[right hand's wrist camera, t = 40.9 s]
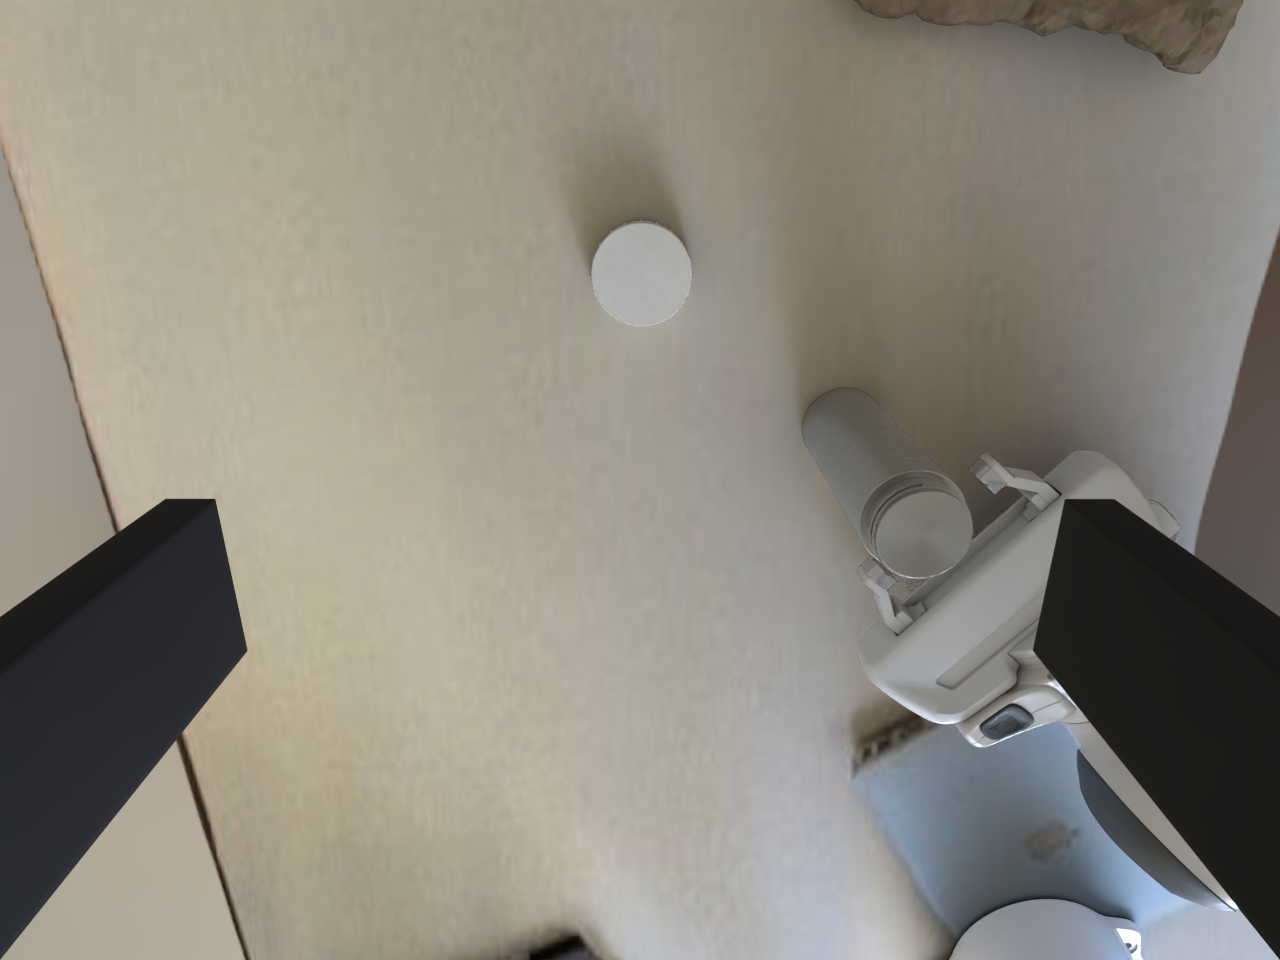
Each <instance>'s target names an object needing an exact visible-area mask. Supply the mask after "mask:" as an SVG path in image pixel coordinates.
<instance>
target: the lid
mask: <svg viewBox="0 0 1280 960" xmlns="http://www.w3.org/2000/svg"><path fill="white" fill-rule="evenodd" d="M683 244H684V243H683V241H682V240H681V241H680V239H679V238H678V237H677V236H676V235H675V234H674V233H673V232H672V229H668V228H666V227H665V226H663V225H661V224H658V222H657V221H656V223H655V222H652V221H642V219H640V221H632V222H628V223H626V222H624V224H623V225H620V226H619V227H617V228H615V229H614V230H610V233H609V234H608V235H607V236H606V237H605V238H604V239H603V241H602V242H601V241H600V243H599V245H600V246H599V247H598V249H597V251H596V254H595V256H593V258H592V260H593V263H592V270H591V274H590V276H591V280H592V286H593V289H594V290H593V292H594V293H595V295H596V297H597V299H598V301H599V303H600V304H601V306H602V307H603V308H604V309H605V310H606V311H607V312H608V313H609V314H610V315H611V316H612V317H614V318H616V319H617V320H619V321H621V322H624V323H626V324H630V325H635V326H648V325H653V324H657V323H660V322H662V321H664V320H666V319H668V318H669V317H671V316H672V315H673V314H675V313H676V312H677V311H678V310H679V308H680V307H681V306H682V305H683V303H684V301H685V300H686V298H687V296H688V293H689V291H690V287H691V282H692V275H693V272H692V267H691V262H690V259H691V257H690V255H689V254H688V253H687V251H686V249H685V247H684V245H683Z"/></svg>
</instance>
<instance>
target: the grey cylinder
mask: <svg viewBox="0 0 1280 960" xmlns="http://www.w3.org/2000/svg"><path fill="white" fill-rule="evenodd" d="M802 435H803V440H804V442H805V445H806V447H807V449H808V450H809V452H810V454H811V455H812V457H813V459H814V461H815V462H816V464H817V466H818V467H819V469H820V471H821V473H822V474H823V476H824V478H825V480H826V481H827V483H828V485H829V486H830V488H831V490H832V492H833V493H834V495H835V497H836V499H837V500H838V502H839V504H840V505H841V507H842V509H843V511H844V512H845V514H846V516H847V518H848V519H849V521H850V523H851V524H852V526H853V528H854V530H855V531H856V533H857V535H858V536H859V538H860V540H861V542H862V543H863V545H864V547H865V548H866V550H867V551H868V552H869V553H870V554H871V555H872V556H873V557H874V558H876V559H877V560H878V561H880V562H881V563H882V564H883V565H884V567H885V568H886V569H888V570H889V571H891V572H893V573H894V574H896V575H898V576H901V577H905V578H908V579H926V578H931V577H935V576H936V575H938V574H941V573H943V572H945V571H947V570H949V569H950V568H952V567H953V566H954V565H955V564H957V563H958V562H959V561H960V560H961V559H962V557H963V556H964V555H965V553H966V552H967V550H968V548H969V546H970V544H971V540H972V536H973V522H972V516H971V513H970V511H969V508H968V506H967V505H966V501H965V498H964V495H963V493H962V491H961V490H960V489H959V487H958V486H957V485H956V484H955V483H954V482H953V481H952V480H951V479H950V478H949V477H948V476H947V475H946V473H945V472H944V471H943V470H942V469H941V468H940V467H939V466H938V465H937V464H936V463H935V462H934V461H933V460H932V459H931V458H930V457H929V456H928V455H927V454H926V453H925V452H924V451H923V450H922V449H921V448H920V447H919V446H918V445H917V444H916V443H915V442H914V441H913V440H912V439H911V438H910V436H909V435H908V434H907V433H906V432H905V431H904V430H903V429H902V428H901V427H900V426H899V425H898V424H897V423H896V422H895V421H894V420H893V419H892V418H891V417H890V416H889V415H888V414H887V413H886V412H885V411H884V410H883V409H882V408H881V407H880V406H879V405H878V404H877V403H876V402H875V401H874V399H873V398H872V397H870V396H869V395H868V394H866V393H864V392H862V391H860V390H856V389H851V388H842V389H836V390H832V391H830V392H827V393H825V394H824V395H822V396H821V397H819V398H818V399H817V400H816V401H815V402H814V403H813V404H812V405H811V406H810V408H809V409H808V411H807V413H806V415H805V417H804V420H803V425H802Z"/></svg>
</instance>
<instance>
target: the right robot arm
mask: <svg viewBox="0 0 1280 960" xmlns="http://www.w3.org/2000/svg"><path fill="white" fill-rule="evenodd" d="M246 652H247V646H246V641H245V637H244V632H243V627H242V623H241V618H240V613H239V609H238V604H237V599H236V594H235V590H234V585H233V580H232V576H231V571H230V566H229V562H228V557H227V552H226V547H225V543H224V538H223V533H222V529H221V524H220V519H219V515H218V510H217V505H216V500H215V499H165V500H163V501H162V502H161V503H159V504H158V505H156V506H155V507H154V508H152V509H151V510H149V511H148V512H147V513H145V514H144V515H142V516H141V517H140V518H138V519H137V520H135V521H134V522H133V523H131V524H130V525H128V526H127V527H126V528H124V529H123V530H121V531H120V532H119V533H117V534H116V535H114V536H113V537H112V538H110V539H109V540H107V541H106V542H105V543H103V544H102V545H100V546H99V547H98V548H96V549H95V550H93V551H92V552H91V553H89V554H88V555H86V556H85V557H84V558H82V559H81V560H79V561H78V562H77V563H75V564H74V565H72V566H71V567H70V568H68V569H67V570H65V571H64V572H63V573H61V574H60V575H58V576H57V577H56V578H54V579H53V580H51V581H50V582H49V583H47V584H46V585H44V586H43V587H42V588H40V589H39V590H37V591H36V592H35V593H33V594H32V595H30V596H29V597H28V598H26V599H25V600H23V601H22V602H21V603H19V604H18V605H16V606H15V607H14V608H12V609H11V610H9V611H8V612H7V613H5V614H4V615H2V616H1V617H0V959H1V958H2V957H3V956H4V954H5V953H6V952H7V951H8V949H9V948H10V947H11V946H12V944H13V943H14V942H15V940H16V939H17V938H18V937H19V936H20V934H21V933H22V932H23V931H24V929H25V928H26V927H27V926H28V924H29V923H30V922H31V921H32V919H33V918H34V917H35V916H36V914H37V913H38V912H39V911H40V909H41V908H42V907H43V906H44V904H45V903H46V902H47V901H48V899H49V898H50V897H51V896H52V894H53V893H54V892H55V891H56V889H57V888H58V887H59V885H60V884H61V883H62V882H63V881H64V879H65V878H66V877H67V876H68V874H69V873H70V872H71V871H72V869H73V868H74V867H75V866H76V864H77V863H78V862H79V860H80V859H81V858H82V857H83V856H84V854H85V853H86V852H87V851H88V849H89V848H90V847H91V845H92V844H93V843H94V842H95V841H96V839H97V838H98V837H99V836H100V834H101V833H102V832H103V831H104V829H105V828H106V827H107V826H108V824H109V823H110V822H111V821H112V819H113V818H114V817H115V816H116V814H117V813H118V812H119V811H120V809H121V808H122V807H123V806H124V804H125V803H126V802H127V801H128V799H129V798H130V797H131V796H132V794H133V793H134V792H135V791H136V789H137V788H138V787H139V786H140V784H141V783H142V782H143V781H144V779H145V778H146V777H147V776H148V774H149V773H150V772H151V771H152V769H153V768H154V767H155V766H156V764H157V763H158V762H159V761H160V759H161V758H162V757H163V756H164V754H165V753H166V752H167V751H168V749H169V748H170V747H171V746H172V744H173V743H174V742H175V741H176V739H177V738H178V737H179V736H180V734H181V733H182V732H183V731H184V729H185V728H186V727H187V726H188V724H189V723H190V722H191V721H192V719H193V718H194V717H195V716H196V714H197V713H198V712H199V711H200V709H201V708H202V707H203V706H204V704H205V703H206V702H207V701H208V699H209V698H210V697H211V696H212V694H213V693H214V692H215V691H216V689H217V688H218V687H219V686H220V684H221V683H222V682H223V681H224V679H225V678H226V677H227V676H228V674H229V673H230V672H231V671H232V669H233V668H234V667H235V666H236V664H237V663H238V662H239V661H240V659H241V658H242V657H243V656H244V654H245V653H246ZM1033 652H1034V653H1035V654H1036V656H1037V657H1038V658H1039V659H1040V661H1041V662H1042V663H1043V664H1044V666H1045V667H1046V668H1047V669H1048V671H1049V672H1050V673H1051V674H1052V676H1053V677H1054V678H1055V679H1056V681H1057V682H1058V683H1059V684H1060V686H1061V687H1062V688H1063V689H1064V691H1065V692H1066V693H1067V694H1068V696H1069V697H1070V698H1071V699H1072V701H1073V702H1074V703H1075V704H1076V706H1077V707H1078V708H1079V709H1080V711H1081V712H1082V713H1083V714H1084V716H1085V717H1086V718H1087V719H1088V721H1089V722H1090V723H1091V724H1092V726H1093V727H1094V728H1095V729H1096V731H1097V732H1098V733H1099V734H1100V736H1101V737H1102V738H1103V739H1104V741H1105V742H1106V743H1107V744H1108V746H1109V747H1110V748H1111V749H1112V751H1113V752H1114V753H1115V754H1116V756H1117V757H1118V758H1119V759H1120V761H1121V762H1122V763H1123V764H1124V766H1125V767H1126V768H1127V769H1128V771H1129V772H1130V773H1131V774H1132V776H1133V777H1134V778H1135V779H1136V781H1137V782H1138V783H1139V784H1140V786H1141V787H1142V788H1143V789H1144V791H1145V792H1146V793H1147V794H1148V796H1149V797H1150V798H1151V799H1152V801H1153V802H1154V803H1155V804H1156V806H1157V807H1158V808H1159V809H1160V811H1161V812H1162V813H1163V814H1164V816H1165V817H1166V818H1167V819H1168V821H1169V822H1170V823H1171V824H1172V826H1173V827H1174V828H1175V829H1176V831H1177V832H1178V833H1179V834H1180V836H1181V837H1182V838H1183V839H1184V841H1185V842H1186V843H1187V844H1188V846H1189V847H1190V848H1191V849H1192V851H1193V852H1194V853H1195V854H1196V856H1197V857H1198V858H1199V859H1200V861H1201V862H1202V863H1203V864H1204V866H1205V867H1206V868H1207V869H1208V871H1209V872H1210V873H1211V874H1212V876H1213V877H1214V878H1215V879H1216V881H1217V882H1218V883H1219V884H1220V886H1221V887H1222V888H1223V889H1224V891H1225V892H1226V893H1227V894H1228V896H1229V897H1230V898H1231V899H1232V901H1233V902H1234V903H1235V904H1236V906H1237V907H1238V908H1239V909H1240V911H1241V912H1242V913H1243V914H1244V916H1245V917H1246V918H1247V919H1248V921H1249V922H1250V923H1251V924H1252V926H1253V927H1254V928H1255V929H1256V931H1257V932H1258V933H1259V934H1260V936H1261V937H1262V938H1263V939H1264V941H1265V942H1266V943H1267V944H1268V946H1269V947H1270V948H1271V949H1272V951H1273V952H1274V953H1275V954H1276V956H1277V957H1278V958H1279V959H1280V617H1279V616H1278V615H1276V614H1275V613H1273V612H1272V611H1271V610H1269V609H1268V608H1266V607H1265V606H1264V605H1262V604H1261V603H1259V602H1258V601H1257V600H1255V599H1254V598H1252V597H1251V596H1250V595H1248V594H1247V593H1245V592H1244V591H1243V590H1241V589H1240V588H1238V587H1237V586H1236V585H1234V584H1233V583H1231V582H1230V581H1229V580H1227V579H1226V578H1224V577H1223V576H1222V575H1220V574H1219V573H1217V572H1216V571H1215V570H1213V569H1212V568H1210V567H1209V566H1208V565H1206V564H1205V563H1203V562H1202V561H1201V560H1199V559H1198V558H1196V557H1195V556H1194V555H1192V554H1191V553H1189V552H1188V551H1187V550H1185V549H1184V548H1182V547H1181V546H1180V545H1178V544H1177V543H1175V542H1174V541H1173V540H1171V539H1170V538H1168V537H1167V536H1166V535H1164V534H1163V533H1161V532H1160V531H1159V530H1157V529H1156V528H1154V527H1153V526H1152V525H1150V524H1149V523H1147V522H1146V521H1145V520H1143V519H1142V518H1140V517H1139V516H1138V515H1136V514H1135V513H1133V512H1132V511H1131V510H1129V509H1128V508H1126V507H1125V506H1124V505H1122V504H1121V503H1119V502H1118V501H1117V500H1115V499H1065V500H1064V505H1063V510H1062V515H1061V519H1060V524H1059V529H1058V533H1057V538H1056V543H1055V547H1054V552H1053V557H1052V562H1051V566H1050V571H1049V576H1048V580H1047V585H1046V590H1045V594H1044V599H1043V604H1042V609H1041V613H1040V618H1039V623H1038V627H1037V632H1036V637H1035V641H1034V646H1033Z"/></svg>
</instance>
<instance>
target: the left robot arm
mask: <svg viewBox="0 0 1280 960" xmlns="http://www.w3.org/2000/svg"><path fill="white" fill-rule="evenodd" d="M980 458H981V459H980ZM980 458H978V459H977V460H976V461H975V462H974V463H973V464H972V465H971V466H969V467H968V469H969V470H970V471H971V472H972V473H973V474H974V475H975V476H976V477H977V478H978V479H979V480H980V481H981V482H983V483H984V484H985V485H986V486H987V487H988V488H989V489H990V490H991V491H992V492H993V493H994V494H996V493H997V492H999V491H1000V490H1001V489H1002V488H1003V487H1005V486H1009V487H1014V488H1017V489H1018V490H1019V491H1020V492H1021V493H1022V494H1023V496H1022V497H1021V498H1020V499H1018V500H1017V501H1016V502H1015V503H1014V504H1013V505H1012V506H1010V507H1009V508H1008V509H1007V510H1006V511H1005V512H1004V513H1002V514H1001V515H1000V516H999V517H998V518H997V519H996V520H994V521H993V522H992V523H991V524H990V525H989V526H988V527H986V528H985V529H984V530H983V531H982V532H981V533H980V534H978V535H977V536H976V537H975V538H974V539H973V540H972V541H971V544H970V546H969V548H968V550H967V552H966V553H965V555H964V556H963V557H962V559H961V560H960V561H959V562H958V563H957V564H955V565H954V566H953V567H952V568H950V569H949V570H947V571H945V572H943V573H941V574H938V575H936V576H935V577H931V578H928V579H927V580H926V581H925V582H923V583H922V584H921V585H920V586H919V587H918V588H917V589H915V590H914V591H913V592H912V593H911V594H910V595H909V596H907V597H906V598H905V599H904V600H903V601H902V602H901V601H900V600H899V599H897V598H896V597H895V596H894V595H892V596H890V597H889V593H888V589H889V588H890V587H891V586H892V585H893V584H895V583H896V580H895V578H894V577H893V576H892V575H891V572H890V571H889V570H888V569H886V568H885V567H884V565H883V564H882V563H880V562H879V561H878V560H877V559H876V558H874V557H873V556H872V555H871V556H870V557H869V558H868V559H867V560H866V561H865V562H863V563H862V564H861V565H860V566H859V567H858V568H857V569H856V572H857V574H858V576H859V578H860V579H861V580H862V581H863V582H864V583H865V584H866V585H867V586H868V587H869V588H870V589H871V590H873V594H874V597H875V601H876V605H877V608H878V610H879V612H880V614H881V616H882V619H881V620H880V621H879V622H878V623H877V624H875V625H874V626H873V627H872V628H871V629H870V630H868V631H867V632H866V633H865V634H864V635H863V636H862V637H861V638H860V639H859V640H858V654H859V659H860V662H861V664H862V667H863V669H864V671H865V673H866V674H867V676H868V678H869V679H870V680H871V681H872V682H873V684H875V685H876V686H877V687H878V688H879V689H880V690H882V691H883V692H884V693H886V694H887V695H888V696H890V697H891V698H893V699H894V700H895V701H897V702H898V703H900V704H901V705H903V706H904V707H906V708H908V709H909V710H911V711H912V712H914V713H916V714H918V715H919V716H921V717H923V718H925V719H927V720H929V721H932V722H935V723H939V724H955V726H956V727H957V728H958V730H959V731H960V732H961V733H962V735H963V736H964V737H965V738H966V739H967V740H968V741H969V742H970V743H971V744H972V745H974V746H976V747H980V748H982V747H988V746H991V745H993V744H996V743H998V742H1000V741H1002V740H1005V739H1007V738H1009V737H1012V736H1014V735H1017V734H1019V733H1022V732H1024V731H1027V730H1030V729H1032V728H1035V727H1038V726H1042V725H1045V724H1049V723H1052V722H1058V723H1060V724H1062V725H1064V726H1065V727H1066V728H1067V730H1068V732H1069V734H1070V735H1071V737H1072V738H1073V739H1074V740H1075V742H1076V743H1077V744H1078V745H1079V746H1080V747H1081V748H1080V749H1078V751H1077V767H1078V774H1079V781H1080V788H1081V792H1082V794H1083V797H1084V799H1085V801H1086V803H1087V805H1088V807H1089V809H1090V811H1091V812H1092V814H1093V816H1094V817H1095V819H1096V820H1097V821H1098V823H1099V824H1100V826H1101V827H1102V828H1103V829H1104V831H1105V832H1106V833H1107V834H1108V836H1109V837H1110V838H1111V839H1112V840H1113V841H1114V842H1115V843H1116V844H1117V845H1118V847H1119V848H1120V849H1121V850H1122V851H1123V852H1125V853H1126V854H1127V855H1128V856H1129V857H1130V858H1131V859H1132V860H1133V861H1134V862H1135V863H1136V864H1137V865H1138V866H1140V867H1141V868H1142V869H1143V870H1144V871H1145V872H1146V873H1148V874H1149V875H1150V876H1151V877H1152V878H1153V879H1155V880H1156V881H1157V882H1158V883H1159V884H1160V885H1162V886H1163V887H1164V888H1165V889H1167V890H1168V891H1169V892H1170V893H1172V894H1175V895H1177V896H1179V897H1182V898H1184V899H1186V900H1189V901H1192V902H1195V903H1197V904H1200V905H1203V906H1207V907H1210V908H1215V909H1219V910H1225V911H1236V910H1237V909H1239V908H1238V907H1237V906H1236V904H1235V903H1234V902H1233V901H1232V899H1231V898H1230V897H1229V896H1228V894H1227V893H1226V892H1225V891H1224V889H1223V888H1222V887H1221V886H1220V884H1219V883H1218V882H1217V881H1216V879H1215V878H1214V877H1213V876H1212V874H1211V873H1210V872H1209V871H1208V869H1207V868H1206V867H1205V866H1204V864H1203V863H1202V862H1201V861H1200V859H1199V858H1198V857H1197V856H1196V854H1195V853H1194V852H1193V851H1192V849H1191V848H1190V847H1189V846H1188V844H1187V843H1186V842H1185V841H1184V839H1183V838H1182V837H1181V836H1180V834H1179V833H1178V832H1177V831H1176V829H1175V828H1174V827H1173V826H1172V824H1171V823H1170V822H1169V821H1168V819H1167V818H1166V817H1165V816H1164V814H1163V813H1162V812H1161V811H1160V809H1159V808H1158V807H1157V806H1156V804H1155V803H1154V802H1153V801H1152V799H1151V798H1150V797H1149V796H1148V794H1147V793H1146V792H1145V791H1144V789H1143V788H1142V787H1141V786H1140V784H1139V783H1138V782H1137V781H1136V779H1135V778H1134V777H1133V776H1132V774H1131V773H1130V772H1129V771H1128V769H1127V768H1126V767H1125V766H1124V764H1123V763H1122V762H1121V761H1120V759H1119V758H1118V757H1117V756H1116V754H1115V753H1114V752H1113V751H1112V749H1111V748H1110V747H1109V746H1108V744H1107V743H1106V742H1105V741H1104V739H1103V738H1102V737H1101V736H1100V734H1099V733H1098V732H1097V731H1096V729H1095V728H1094V727H1093V726H1092V724H1091V723H1090V722H1089V721H1088V719H1087V718H1086V717H1085V716H1084V714H1083V713H1082V712H1081V711H1080V709H1079V708H1078V707H1077V706H1076V704H1075V703H1074V702H1073V701H1072V699H1071V698H1070V697H1069V696H1068V694H1067V693H1066V692H1065V691H1064V689H1063V688H1062V687H1061V686H1060V684H1059V683H1058V682H1057V681H1056V679H1055V678H1054V677H1053V676H1052V674H1051V673H1050V672H1049V671H1048V669H1047V668H1046V667H1045V666H1044V664H1043V663H1042V662H1041V661H1040V659H1039V658H1038V657H1037V656H1036V654H1035V653H1034V652H1033V646H1034V641H1035V637H1036V632H1037V627H1038V623H1039V618H1040V613H1041V609H1042V604H1043V599H1044V594H1045V590H1046V585H1047V580H1048V576H1049V571H1050V566H1051V562H1052V557H1053V552H1054V547H1055V543H1056V538H1057V533H1058V529H1059V524H1060V519H1061V515H1062V510H1063V505H1064V500H1065V499H1115V500H1117V501H1118V502H1119V503H1121V504H1122V505H1124V506H1125V507H1126V508H1128V509H1129V510H1131V511H1132V512H1133V513H1135V514H1136V515H1138V516H1139V517H1140V518H1142V519H1143V520H1145V521H1146V522H1147V523H1149V524H1150V525H1152V526H1153V527H1154V528H1156V529H1157V530H1159V531H1160V532H1161V533H1163V534H1164V535H1166V536H1167V537H1168V538H1170V539H1171V540H1173V541H1175V539H1176V536H1177V532H1178V530H1179V526H1178V523H1177V522H1176V520H1175V518H1174V517H1173V516H1172V515H1171V514H1170V513H1169V512H1168V511H1167V509H1166V508H1165V507H1164V506H1163V505H1162V504H1160V503H1159V502H1157V501H1154V500H1150V499H1146V497H1145V496H1144V494H1143V493H1142V492H1141V490H1140V489H1139V488H1138V486H1137V485H1136V484H1135V482H1134V481H1133V480H1132V479H1131V478H1130V477H1129V475H1128V474H1127V473H1126V472H1125V471H1124V470H1123V469H1122V468H1121V467H1120V466H1118V465H1117V464H1116V463H1115V462H1113V461H1112V460H1110V459H1109V458H1107V457H1106V456H1104V455H1102V454H1101V453H1099V452H1096V451H1086V450H1077V451H1074V452H1073V453H1071V454H1070V455H1069V456H1068V457H1066V458H1065V459H1064V460H1063V461H1062V462H1061V463H1060V464H1059V465H1057V466H1056V467H1055V468H1054V469H1053V470H1052V471H1051V472H1049V473H1048V474H1047V475H1046V476H1045V477H1044V478H1043V479H1041V478H1040V477H1038V476H1037V475H1036V474H1035V473H1033V472H1032V471H1028V470H1022V469H1016V468H1010V467H1005V466H1003V467H1002V466H1001V465H1000V464H999V463H998V462H997V461H996V460H995V459H994V458H992V457H991V456H990V455H989V454H988V453H986V452H985V453H984V454H983V455H982V456H980ZM949 960H1143V959H1142V958H1141V935H1140V932H1139V930H1138V928H1137V926H1136V924H1135V923H1134V922H1132V921H1130V920H1127V919H1123V918H1116V917H1107V916H1103V915H1101V914H1098V913H1096V912H1095V911H1093V910H1091V909H1089V908H1087V907H1085V906H1083V905H1080V904H1077V903H1074V902H1070V901H1065V900H1058V899H1036V900H1029V901H1023V902H1019V903H1015V904H1011V905H1008V906H1006V907H1003V908H1000V909H998V910H996V911H994V912H992V913H990V914H988V915H986V916H985V917H983V918H982V919H980V920H979V921H977V922H976V923H975V924H974V925H972V926H971V927H970V928H969V929H968V930H967V931H966V932H965V933H964V935H963V936H962V937H961V938H960V940H959V941H958V943H957V945H956V947H955V949H954V951H953V953H952V955H951V957H950V959H949Z"/></svg>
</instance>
